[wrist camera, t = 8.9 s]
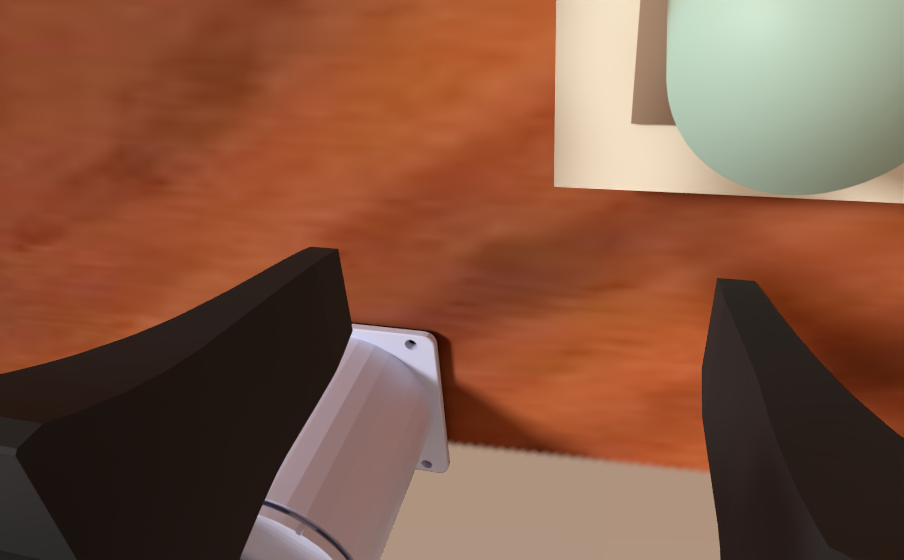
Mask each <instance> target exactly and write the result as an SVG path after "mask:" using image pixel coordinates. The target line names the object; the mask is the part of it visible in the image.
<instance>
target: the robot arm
mask: <svg viewBox="0 0 904 560" xmlns="http://www.w3.org/2000/svg"><path fill="white" fill-rule="evenodd" d="M409 340H412V341H414V342H415V343H416V344H412V343H411V342H409ZM702 417H703V425H704V432H705V439H706V447H707V454H708V461H709V467H710V474H711V481H712V488H713V494H714V501H715V508H716V515H717V522H718V532H719V542H720V554H721V555H720V557H721V560H904V438H902V437H901V436H900V435H899V434H897V433H896V432H895V431H894V430H892V429H891V428H890V427H889V426H888V425H886V424H885V423H884V422H883V421H882V420H881V419H879V418H878V417H877V416H876V415H875V414H874V413H872V412H871V411H870V410H869V409H868V408H867V407H865V406H864V405H863V404H862V403H861V402H860V401H859V400H858V399H856V398H855V397H854V396H853V395H852V394H851V393H850V392H849V391H848V390H847V389H846V388H845V387H844V386H843V385H842V384H841V383H840V382H839V381H838V380H837V379H836V378H835V377H834V376H833V375H832V374H831V373H830V372H829V371H828V370H827V369H826V368H825V367H824V366H823V365H822V363H821V362H820V361H819V360H818V359H817V358H816V357H815V356H814V354H813V353H812V352H811V351H810V350H809V349H808V347H807V346H806V345H805V344H804V343H803V342H802V340H801V339H800V338H799V337H798V336H797V335H796V333H795V332H794V331H793V330H792V328H791V327H790V326H789V325H788V323H787V322H786V321H785V319H784V318H783V317H782V316H781V314H780V313H779V312H778V310H777V309H776V308H775V306H774V305H773V304H772V302H771V301H770V300H769V298H768V297H767V296H766V294H765V293H764V292H763V290H762V289H761V288H760V287H759V285H758V284H757V283H756V282H755V281H746V280H733V279H720V278H717V284H716V289H715V295H714V301H713V307H712V313H711V318H710V324H709V330H708V336H707V342H706V347H705V353H704V359H703V365H702ZM449 463H450V460H449V452H448V441H447V432H446V422H445V413H444V403H443V394H442V384H441V375H440V365H439V356H438V346H437V341H436V338H435V337H434V336H433V335H432V334H430V333H429V332H425V331H416V330H407V329H397V328H388V327H378V326H369V325H360V324H352V323H351V318H350V312H349V307H348V301H347V296H346V290H345V285H344V279H343V274H342V268H341V263H340V257H339V252H338V249H332V248H319V247H309V248H307V249H304V250H302V251H300V252H298V253H296V254H294V255H292V256H290V257H288V258H286V259H284V260H282V261H281V262H279V263H277V264H275V265H273V266H272V267H270V268H268V269H266V270H264V271H263V272H261V273H259V274H257V275H256V276H254V277H252V278H250V279H248V280H247V281H245V282H243V283H241V284H239V285H238V286H236V287H234V288H232V289H230V290H229V291H227V292H225V293H223V294H221V295H219V296H217V297H215V298H213V299H211V300H209V301H207V302H205V303H203V304H201V305H199V306H197V307H195V308H193V309H191V310H189V311H187V312H186V313H183V314H181V315H179V316H177V317H175V318H173V319H170V320H168V321H166V322H164V323H161V324H159V325H157V326H154V327H152V328H149V329H147V330H144V331H142V332H140V333H137V334H135V335H132V336H129V337H127V338H124V339H121V340H118V341H115V342H112V343H109V344H106V345H103V346H100V347H97V348H94V349H91V350H89V351H86V352H83V353H80V354H77V355H73V356H70V357H66V358H63V359H59V360H56V361H52V362H49V363H45V364H41V365H37V366H33V367H29V368H25V369H21V370H17V371H13V372H8V373H4V374H0V560H380V558H381V555H382V553H383V551H384V548H385V546H386V542H387V540H388V538H389V535H390V533H391V530H392V527H393V525H394V522H395V520H396V517H397V515H398V512H399V509H400V507H401V504H402V502H403V499H404V496H405V494H406V491H407V489H408V486H409V483H410V481H411V479H412V476H413V473H414V471H415V469H418V470H425V471H431V472H438V473H442V472H445V471H446V470H447V469H448V466H449Z"/></svg>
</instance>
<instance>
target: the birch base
mask: <svg viewBox="0 0 904 560" xmlns="http://www.w3.org/2000/svg"><path fill="white" fill-rule="evenodd" d="M667 4H668V0H556V74H555V157H554V187H572V188H593V189H614V190H635V191H656V192H677V193H698V194H719V195H740V196H761V197H782V198H803V199H824V200H845V201H866V202H887V203H904V163H903V164H901V165H900V166H898V167H896V168H894V169H892V170H891V171H889V172H887V173H885V174H883V175H881V176H879V177H876V178H874V179H872V180H869V181H867V182H865V183H862V184H859V185H855V186H852V187H849V188H846V189H842V190H837V191H833V192H828V193H821V194H812V195H782V194H773V193H767V192H762V191H758V190H754V189H750V188H748V187H745V186H742V185H739V184H736V183H735V182H733V181H731V180H729V179H727V178H725V177H723V176H721V175H720V174H718V173H717V172H715V171H714V170H712V169H711V168H709V167H708V166H707V165H706V164H705V163H704V162H703V161H701V160H700V159H699V158H698V157H697V156H696V155H695V153H694V152H693V151H692V150H691V149H690V147H689V146H688V145H687V144H686V142H685V140H684V139H683V137H682V135H681V134H680V132H679V130H678V128H677V126H676V123H675V121H674V118H673V116H672V113H671V109H670V105H669V101H668V94H667V84H666V65H667Z"/></svg>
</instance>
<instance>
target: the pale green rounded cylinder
mask: <svg viewBox="0 0 904 560" xmlns="http://www.w3.org/2000/svg"><path fill="white" fill-rule="evenodd" d="M666 84H667V94H668V101H669V105H670V109H671V113H672V116H673V118H674V121H675V123H676V126H677V128H678V130H679V132H680V134H681V135H682V137H683V139H684V140H685V142H686V144H687V145H688V146H689V147H690V149H691V150H692V151H693V152H694V153H695V155H696V156H697V157H698V158H699V159H700V160H701V161H703V162H704V163H705V164H706V165H707V166H708V167H709V168H711V169H712V170H714V171H715V172H717V173H718V174H720V175H721V176H723V177H725V178H727V179H729V180H731V181H733V182H735V183H736V184H739V185H742V186H745V187H748V188H750V189H754V190H758V191H762V192H767V193H773V194H782V195H812V194H821V193H828V192H833V191H837V190H842V189H846V188H849V187H852V186H855V185H859V184H862V183H865V182H867V181H869V180H872V179H874V178H876V177H879V176H881V175H883V174H885V173H887V172H889V171H891V170H892V169H894V168H896V167H898V166H900V165H901V164H903V163H904V0H668V4H667V65H666Z"/></svg>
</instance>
